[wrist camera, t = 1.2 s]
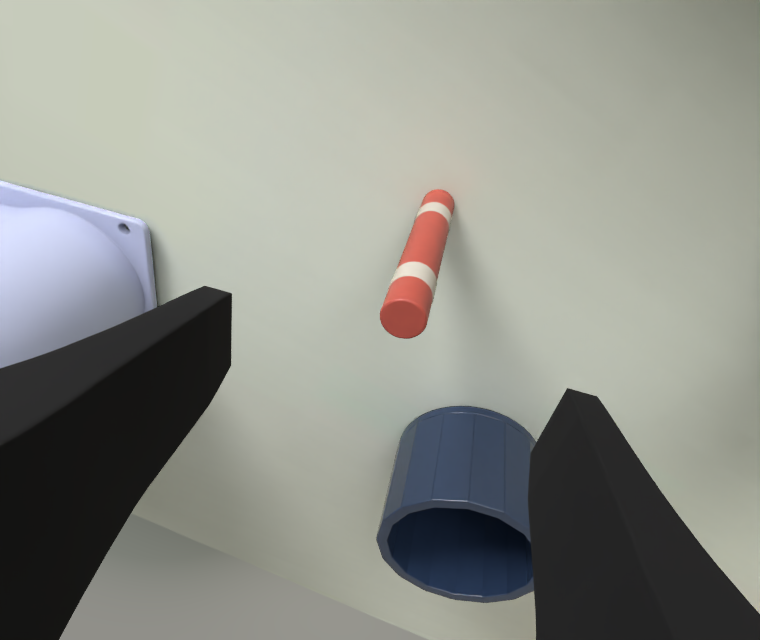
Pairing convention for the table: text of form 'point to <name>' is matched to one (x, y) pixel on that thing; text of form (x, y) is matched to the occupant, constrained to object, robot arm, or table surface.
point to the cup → (461, 506)
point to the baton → (418, 268)
